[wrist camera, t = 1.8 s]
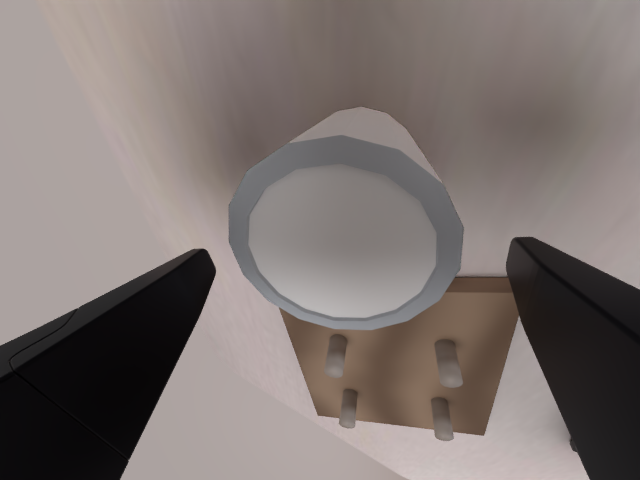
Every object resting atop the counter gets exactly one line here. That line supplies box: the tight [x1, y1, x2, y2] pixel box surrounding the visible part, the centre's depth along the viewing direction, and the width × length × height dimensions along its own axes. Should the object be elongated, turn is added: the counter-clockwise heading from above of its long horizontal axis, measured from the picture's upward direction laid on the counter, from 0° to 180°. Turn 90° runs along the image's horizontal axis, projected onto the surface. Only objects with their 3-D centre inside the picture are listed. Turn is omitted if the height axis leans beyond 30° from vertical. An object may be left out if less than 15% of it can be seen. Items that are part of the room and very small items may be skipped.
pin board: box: [279, 277, 519, 441], centre depth 20 cm, size 14×16×4 cm
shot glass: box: [229, 107, 464, 330], centre depth 11 cm, size 7×7×7 cm
